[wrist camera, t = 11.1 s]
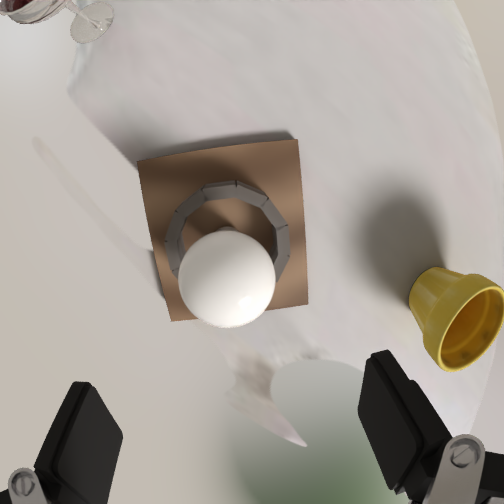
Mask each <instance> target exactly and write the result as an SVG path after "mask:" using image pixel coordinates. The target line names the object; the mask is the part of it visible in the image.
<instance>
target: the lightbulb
mask: <svg viewBox="0 0 504 504" xmlns="http://www.w3.org/2000/svg"><path fill="white" fill-rule="evenodd" d="M275 282H276V276H275V269H274V265H273V262H272V260H271V258H270V256H269V254H268V252H267V251H266V250H265V248H264V247H263V246H262V245H261V244H260V243H259V242H258V241H256V240H255V239H253V238H252V237H250V236H248V235H246V234H244V233H241V232H239V231H238V230H237V229H235V228H233V227H228V226H226V227H221V228H219V229H218V230H217V231H216V232H213V233H210V234H207V235H205V236H203V237H202V238H200V239H198V240H197V241H196V242H195V243H194V244H193V245H192V246H191V247H190V248H189V249H188V250H187V252H186V253H185V255H184V257H183V259H182V261H181V264H180V268H179V273H178V285H179V291H180V294H181V297H182V299H183V301H184V303H185V305H186V307H187V308H188V309H189V310H190V312H191V313H192V314H193V315H194V316H195V317H197V318H198V319H199V320H201V321H203V322H204V323H206V324H209V325H212V326H215V327H220V328H234V327H239V326H243V325H245V324H248V323H250V322H251V321H253V320H255V319H256V318H257V317H259V316H260V315H261V314H262V313H263V312H264V310H265V309H266V308H267V306H268V305H269V303H270V301H271V299H272V296H273V293H274V290H275Z"/></svg>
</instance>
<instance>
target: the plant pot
mask: <svg viewBox="0 0 504 504" xmlns="http://www.w3.org/2000/svg"><path fill="white" fill-rule="evenodd" d="M409 307H410V309H411V311H412V313H413V315H414V317H415V319H416V321H417V323H418V325H419V327H420V329H421V331H422V333H423V343H424V347H425V349H426V350H427V352H428V353H429V355H430V356H431V357H432V359H433V360H434V361H435V362H436V364H437V365H438V366H439V367H440V368H441V369H442V370H444V371H447V372H455V371H459V370H462V369H464V368H466V367H468V366H470V365H471V364H473V363H474V362H475V361H476V360H478V359H479V358H480V357H481V356H482V355H483V354H484V353H485V352H486V351H487V350H488V348H489V347H490V346H491V344H492V343H493V342H494V340H495V338H496V337H497V335H498V333H499V331H500V329H501V327H502V324H503V321H504V291H503V289H502V288H501V287H500V286H499V285H497V284H496V283H494V282H492V281H491V280H489V279H487V278H486V277H484V276H482V275H479V274H468V275H463V274H460V273H457V272H453V271H450V270H447V269H444V268H440V267H433V268H430V269H428V270H426V271H425V272H423V273H422V274H421V275H420V276H419V277H418V278H417V280H416V281H415V283H414V284H413V286H412V288H411V291H410V295H409Z"/></svg>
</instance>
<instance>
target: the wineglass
mask: <svg viewBox="0 0 504 504" xmlns="http://www.w3.org/2000/svg"><path fill="white" fill-rule="evenodd" d="M64 7H66V8H68V9H70V10H71V11H73V12H74V13H76V14H77V16H76V17H75V19H74V21H73V22H72V25H71V29H70V31H71V36H72V38H73V39H74V40H75V41H76V42H79V43H87V42H91V41H93V40H95V39H97V38H99V37H100V36H101V35H102V34H104V33H105V31H106V30H107V29H108V28H109V26H110V25H111V23H112V21H113V16H114V13H113V9H112V7H111V6H110V5H109V4H107V3H104V2H98V3H93V4H91V5H89V6H87V7H85V8H84V9H83V10H80V9H79V8H78V7H77V6H76V5H75V4H74V3H73V2H72V1H71V0H0V14H1V15H8V16H9V17H10V18H11V19H12V20H14V21H16V22H17V23H20V24H34V23H39V22H42V21H45V20H47V19H49V18H51V17H52V16H54V15H56V14H57V13H58V12H60V11H61V10H62V9H63V8H64Z"/></svg>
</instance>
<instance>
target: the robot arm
mask: <svg viewBox="0 0 504 504" xmlns="http://www.w3.org/2000/svg"><path fill="white" fill-rule="evenodd" d="M358 416H359V418H360V421H361V423H362V425H363V428H364V430H365V432H366V435H367V437H368V440H369V442H370V444H371V447H372V449H373V451H374V454H375V456H376V459H377V461H378V464H379V466H380V469H381V471H382V474H383V476H384V479H385V481H386V484H387V486H388V488H389V489H390V490H393V489H394V491H395V493H396V495H397V494H400V493H402V492H405V491H406V493H407V496H408V498H409V499H410V501H409V503H408V504H504V454H498V453H492V452H487V451H485V448H484V445H483V444H482V442H481V441H480V440H479V439H478V438H476V437H475V436H472V435H469V434H462V435H458V436H456V437H454V438H453V437H452V436H451V434H450V433H449V431H448V429H447V428H446V426H445V425H444V423H443V421H442V420H441V418H440V417H439V415H438V414H437V412H436V411H435V409H434V407H433V406H432V404H431V403H430V401H429V400H428V398H427V397H426V395H425V394H424V392H423V391H422V389H421V388H420V386H419V385H418V384H417V383H416V381H414V380H409V378H408V377H407V375H406V374H405V372H404V371H403V369H402V368H401V366H400V365H399V363H398V362H397V361H396V359H395V358H394V356H393V355H392V353H391V352H390V351H389V350H384V351H380V352H376V353H372V354H371V357H370V358H369V359H367V360H366V365H365V372H364V378H363V383H362V389H361V395H360V400H359V405H358ZM122 440H123V434H122V431H121V429H120V428H119V426H118V425H117V423H116V422H115V420H114V419H113V417H112V415H111V414H110V412H109V410H108V409H107V407H106V405H105V404H104V402H103V400H102V399H101V397H100V395H99V394H98V392H97V390H96V388H95V387H93V386H92V385H91V384H90V383H89V382H77V381H76V382H73V383H72V385H71V387H70V389H69V391H68V393H67V395H66V397H65V399H64V401H63V403H62V405H61V407H60V409H59V411H58V413H57V415H56V417H55V419H54V421H53V423H52V425H51V428H50V430H49V432H48V434H47V436H46V439H45V441H44V443H43V445H42V448H41V450H40V452H39V455H38V457H37V459H36V462H35V464H34V468H35V471H34V472H33V471H32V470H31V469H28V468H20V469H17V470H16V471H14V472H13V473H12V474H11V476H10V478H9V481H8V489H7V490H4V491H2V492H0V504H107V502H108V497H109V492H110V489H111V484H112V480H113V476H114V471H115V468H116V463H117V459H118V456H119V452H120V447H121V444H122Z"/></svg>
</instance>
